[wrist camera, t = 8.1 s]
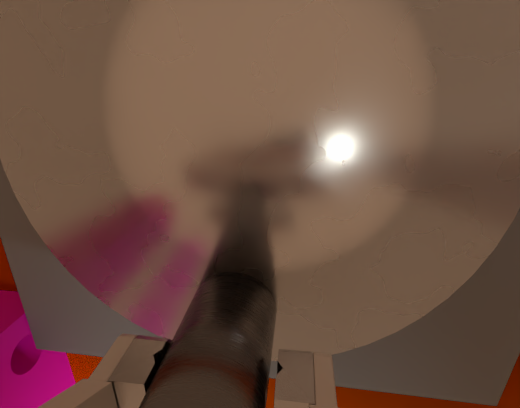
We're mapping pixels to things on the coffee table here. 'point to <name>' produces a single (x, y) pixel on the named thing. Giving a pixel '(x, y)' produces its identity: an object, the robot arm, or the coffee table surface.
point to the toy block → (27, 361)
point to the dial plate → (344, 364)
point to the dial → (262, 167)
